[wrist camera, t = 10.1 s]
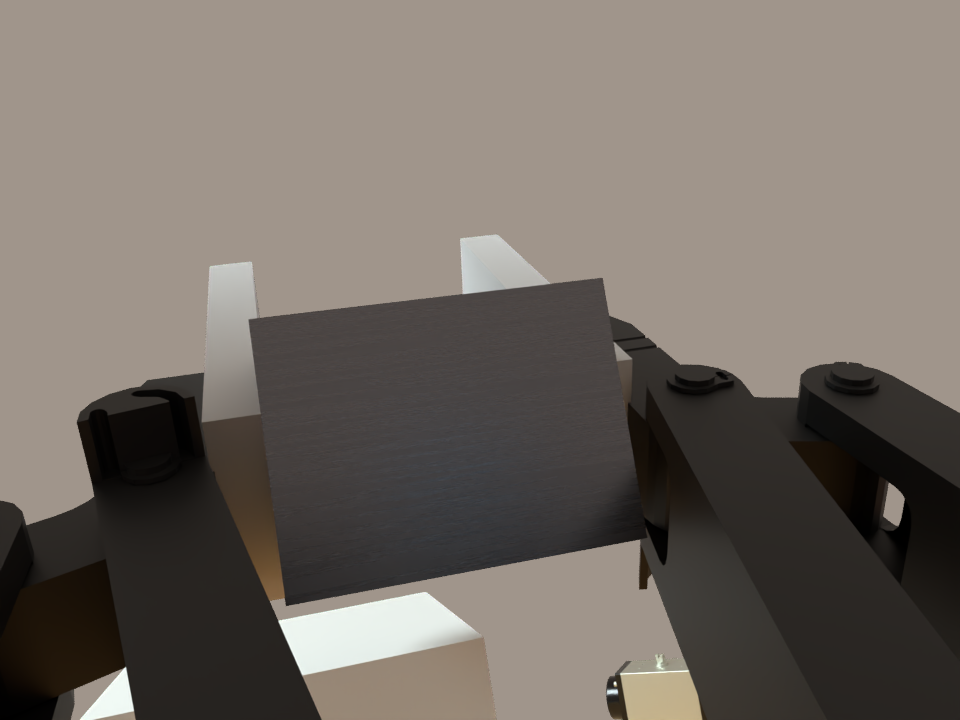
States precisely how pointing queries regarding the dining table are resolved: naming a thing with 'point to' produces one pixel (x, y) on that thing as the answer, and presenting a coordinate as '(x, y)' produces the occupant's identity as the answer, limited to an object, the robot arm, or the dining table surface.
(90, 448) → the robot arm
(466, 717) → the taupe rectangular block
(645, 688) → the pneumatic valve
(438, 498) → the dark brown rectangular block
